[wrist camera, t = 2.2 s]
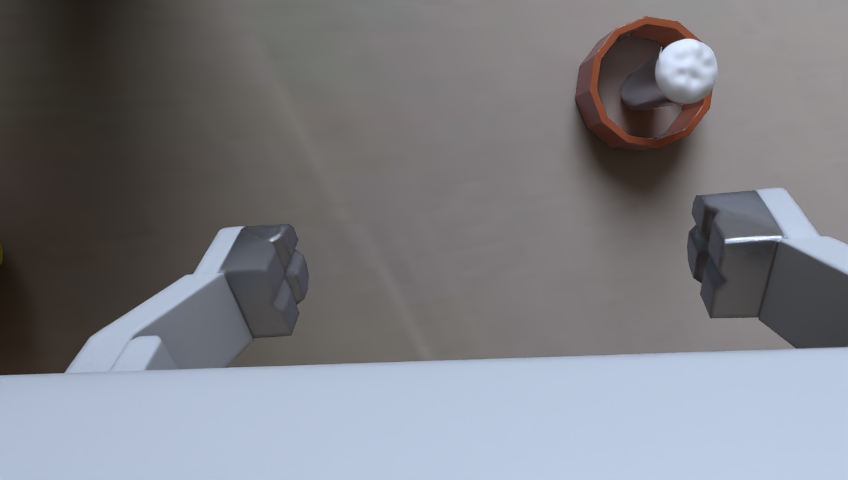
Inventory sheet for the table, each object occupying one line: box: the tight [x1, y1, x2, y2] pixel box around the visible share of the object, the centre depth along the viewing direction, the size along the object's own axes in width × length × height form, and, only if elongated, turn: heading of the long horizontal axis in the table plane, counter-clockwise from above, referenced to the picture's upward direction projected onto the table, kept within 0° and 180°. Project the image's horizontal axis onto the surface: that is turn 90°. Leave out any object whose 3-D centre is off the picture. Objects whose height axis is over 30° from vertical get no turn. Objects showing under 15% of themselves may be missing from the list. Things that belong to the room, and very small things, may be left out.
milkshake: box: [621, 39, 718, 111], centre depth 46 cm, size 5×5×10 cm
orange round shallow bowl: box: [576, 17, 712, 151], centre depth 49 cm, size 10×10×4 cm
